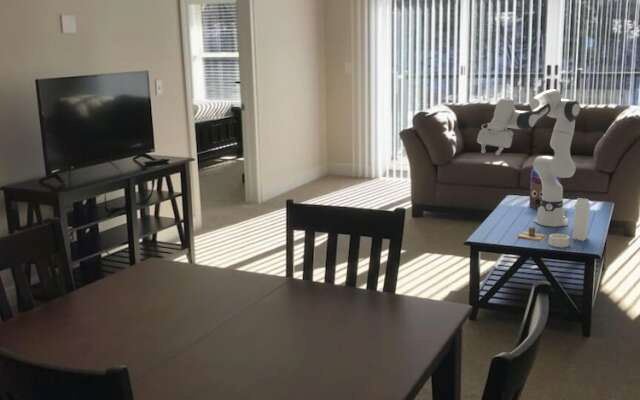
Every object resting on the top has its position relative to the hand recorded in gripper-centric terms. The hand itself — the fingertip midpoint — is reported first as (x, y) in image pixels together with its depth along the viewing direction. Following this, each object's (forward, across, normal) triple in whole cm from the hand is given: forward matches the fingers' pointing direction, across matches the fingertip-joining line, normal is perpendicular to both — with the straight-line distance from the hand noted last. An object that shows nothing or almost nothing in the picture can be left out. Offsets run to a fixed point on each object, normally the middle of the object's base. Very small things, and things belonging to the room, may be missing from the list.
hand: (490, 153), depth 359 cm
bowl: (+34, -30, -38) cm, 59 cm away
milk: (+27, -29, -55) cm, 68 cm away
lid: (+34, -12, -38) cm, 52 cm away
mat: (+34, -12, -39) cm, 53 cm away
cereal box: (+10, +27, -96) cm, 100 cm away
